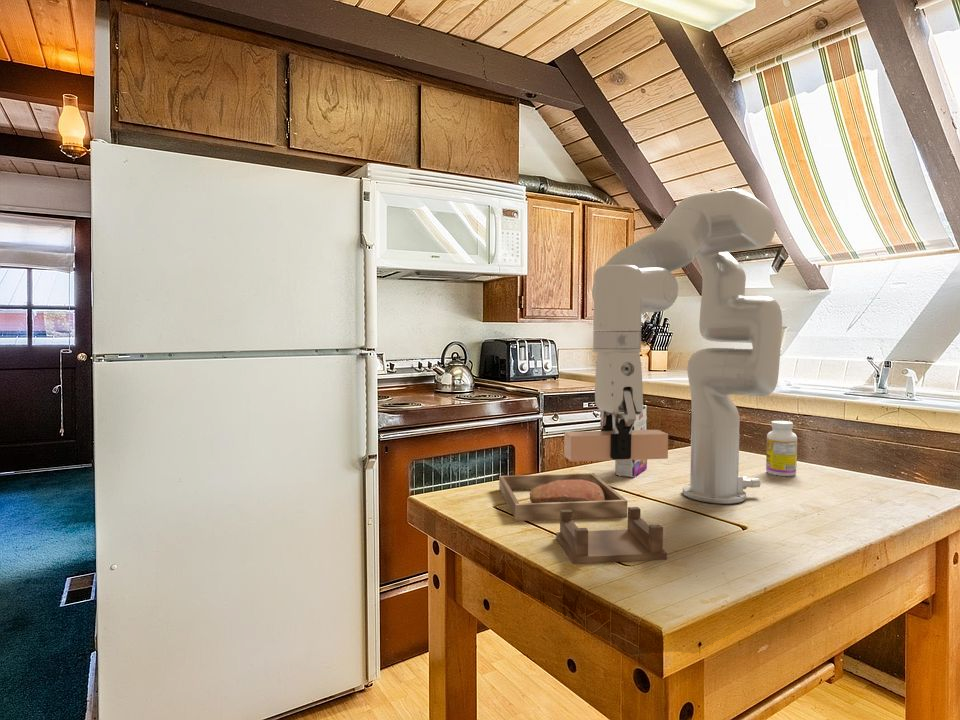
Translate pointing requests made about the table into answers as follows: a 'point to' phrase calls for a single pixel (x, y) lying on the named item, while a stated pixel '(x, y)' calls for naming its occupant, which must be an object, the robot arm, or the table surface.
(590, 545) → the rack
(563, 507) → the low wooden frame
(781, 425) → the supplement bottle
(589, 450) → the tan pink long block
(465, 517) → the table surface
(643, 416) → the candy bar box
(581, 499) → the ceramic shard
